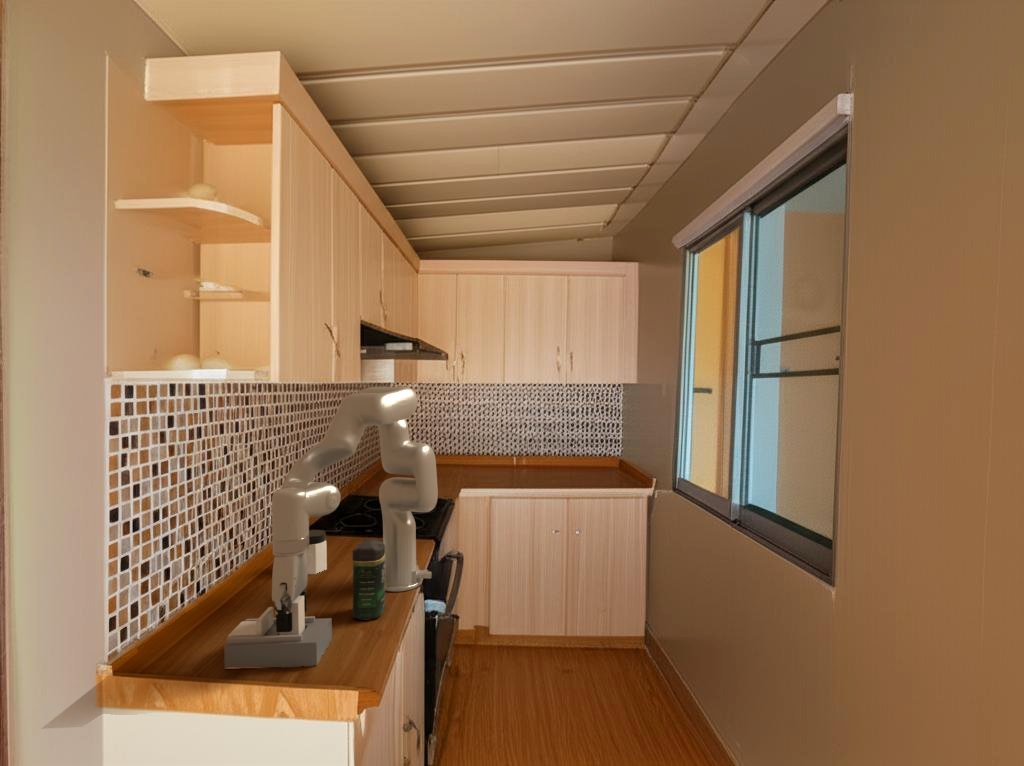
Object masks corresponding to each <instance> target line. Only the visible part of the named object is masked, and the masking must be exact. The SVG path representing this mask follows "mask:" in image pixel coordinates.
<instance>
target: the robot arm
mask: <svg viewBox="0 0 1024 766" xmlns="http://www.w3.org/2000/svg"><path fill="white" fill-rule="evenodd" d="M418 400H419V399H418V395H417V393H416V391H415V390H414V389H413V388H411V387H408V386H371V387H365V388H364V389H362V390H361V391H360V392H358V393H350V394H348V395H346V396H345V397H343V399H342V401H341V402H340V404H339V406H338V408H337V410H336V412H335V414H334V416H333V418H332V420H331V422H330V424H329V426H328V428H327V430H326V432H325V433H324V436H323V437H322V439H321V440H320V441H319V442H318V443H317V444H314V446H312V447H311V448H310V449H308V451H306V452H305V453H304V454H303V455H301V456H300V457H299V458H298V459H297V460H296V461H295V462H294V464H292V466H291V468H290V469H289V471H288V473H287V474H286V477H285V478H284V481H283V483H282V486H281V488H280V489H278V490H276V491H275V492H273V494H272V496H271V513H272V514H271V517H272V519H271V521H272V522H271V523H272V524H271V526H272V527H271V528H272V530H271V531H272V532H271V533H272V534H271V535H272V555H274V558H273V562H272V563H273V566H272V578H271V600H272V602H273V603H274V605H275V606H274V609H275V618H276V631H277V632H291V631H292V612H290V611H291V606H292V601H294V600H295V599H296V598H297V597H298V596H304V609H305V613H306V612H307V611H308V607H307V606H308V604H307V602H308V600H307V595H308V594H307V593H308V592H307V591H308V590H307V585H308V574H307V556H306V552H307V551H308V550H309V531H310V523H309V522H310V520H309V519H310V518H315V517H323V516H326V515H330V514H331V513H333V512H334V511H336V510H337V508H338V507H339V505H340V503H341V498H342V497H341V492H340V489H338V487H337V486H336V485H335V484H332V483H329V482H321V481H320V482H319V481H312V480H313V479H314V478H315V476H317V474H318V473H320V472H321V471H323V470H325V469H326V468H327V467H330V466H332V465H335V464H337V463H340V462H343V461H344V460H346V459H349V458H350V457H352V456H353V455H355V453H356V450H357V449H358V446H359V444H360V442H361V440H362V437H363V435H364V433H365V431H366V429H367V427H369V426H372V427H373V426H377V429H378V434H379V445H380V458H381V464H382V468H383V470H384V471H385V472H386V473H388V474H392V475H401V476H402V475H403V476H413V477H414V478H413V477H412V478H411V477H398V476H396V477H395V476H394V477H390V478H387V479H386V480H384V481H383V482H382V483H381V484H380V486H379V490H378V499H379V504H380V508H381V514H382V532H383V533H382V540H383V541H382V542H383V543H384V545H385V592H386V591H387V592H406V591H409V590H414V589H417V587H419V586H420V585H421V584H422V582H423V581H422V580H423V579H426V580H427V579H432V571H429V569H421V568H419V565H418V564H417V538H416V537H417V536H416V535H417V533H416V530H417V526H416V525H417V524H416V521H415V518H414V515H413V512H414V513H428V512H431V511H432V510H434V509H435V508H436V506H437V503H438V496H439V493H438V492H439V490H438V475H437V473H438V472H437V461H436V459H437V458H436V455H435V452H434V450H433V448H432V447H431V446H430V445H429V444H427V443H424V442H416V441H414V442H413V441H411V439H410V432H409V425H408V421H407V418H410V417H411V416H412V415H413V414H414V413H415V412H416V410H417V408H418V403H419V401H418ZM284 597H290V598H284ZM283 603H288V605H287V607H286V605H285V604H283Z"/></svg>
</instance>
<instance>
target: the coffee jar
mask: <svg viewBox="0 0 1024 766" xmlns="http://www.w3.org/2000/svg"><path fill="white" fill-rule="evenodd" d="M385 609H386V591H385V545H384V543H383V541H381V540H380V539H364V540H363V541H361V542H359V543H358V544H356V546H355V547H354V548H353V550H352V617H353V618H354V619H358V620H361V621H370V620H372V619H376V618H380V617H381V616H382V615H383V613H384V612H385Z"/></svg>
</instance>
